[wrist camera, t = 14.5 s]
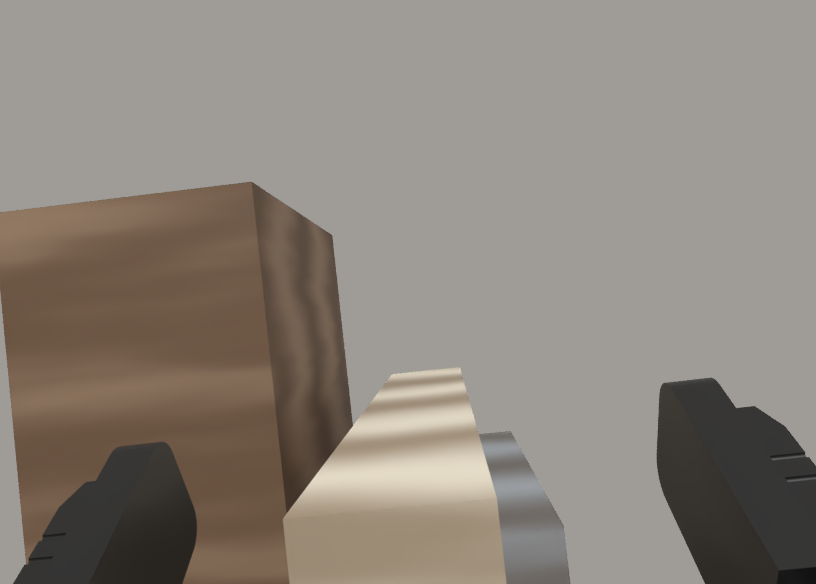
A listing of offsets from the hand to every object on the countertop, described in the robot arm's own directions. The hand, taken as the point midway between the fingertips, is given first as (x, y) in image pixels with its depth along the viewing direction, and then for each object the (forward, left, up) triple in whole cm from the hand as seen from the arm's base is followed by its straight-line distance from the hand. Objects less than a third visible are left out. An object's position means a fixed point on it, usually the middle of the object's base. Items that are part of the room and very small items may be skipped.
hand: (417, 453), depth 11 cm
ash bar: (+5, +11, -4) cm, 13 cm away
